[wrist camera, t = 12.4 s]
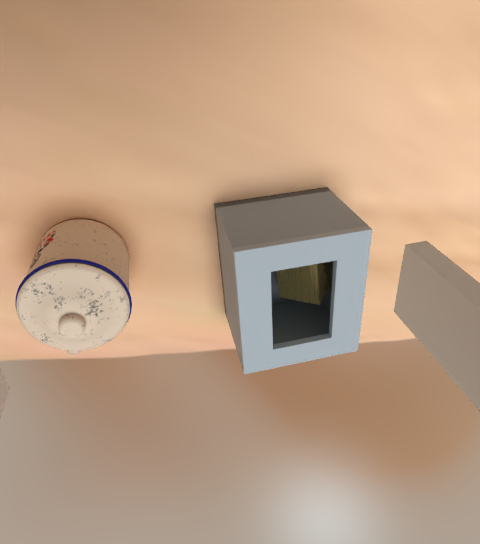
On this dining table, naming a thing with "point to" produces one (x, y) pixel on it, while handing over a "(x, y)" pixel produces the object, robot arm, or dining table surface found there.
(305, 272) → the rectangular block
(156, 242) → the dining table surface
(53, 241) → the teacup with lid
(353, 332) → the grey box with opening
